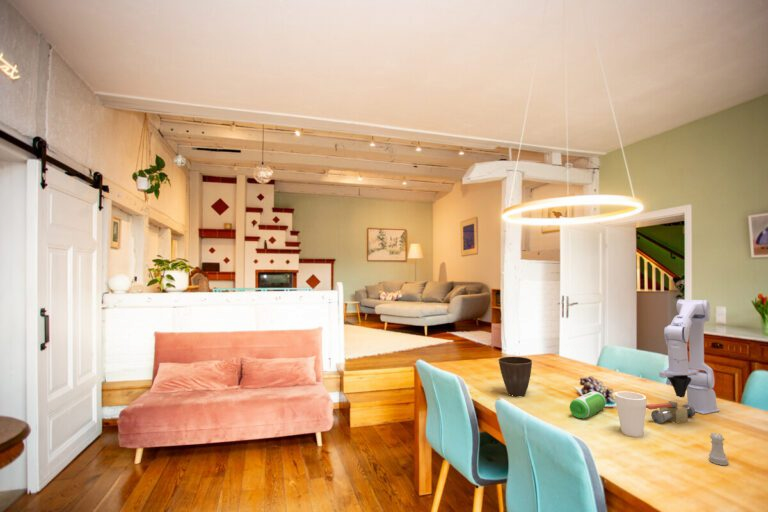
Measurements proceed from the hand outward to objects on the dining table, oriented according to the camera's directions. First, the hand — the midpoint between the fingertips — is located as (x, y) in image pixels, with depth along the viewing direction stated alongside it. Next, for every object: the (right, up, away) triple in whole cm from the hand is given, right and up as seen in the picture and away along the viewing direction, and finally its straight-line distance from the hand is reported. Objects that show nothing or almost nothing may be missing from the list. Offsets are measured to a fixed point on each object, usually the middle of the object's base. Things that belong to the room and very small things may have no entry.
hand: (680, 396), depth 140 cm
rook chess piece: (-10, -10, -27) cm, 30 cm away
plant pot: (-46, -14, +40) cm, 62 cm away
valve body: (+2, -11, +5) cm, 12 cm away
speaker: (-26, -12, +14) cm, 32 cm away
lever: (-3, -6, +5) cm, 8 cm away
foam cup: (-21, -11, -6) cm, 24 cm away
